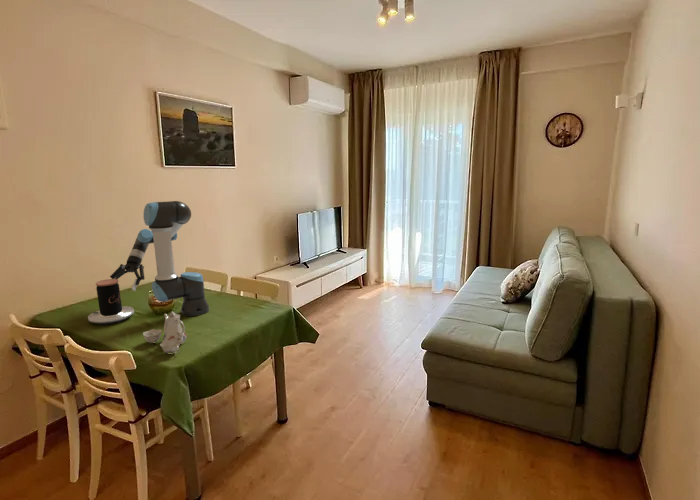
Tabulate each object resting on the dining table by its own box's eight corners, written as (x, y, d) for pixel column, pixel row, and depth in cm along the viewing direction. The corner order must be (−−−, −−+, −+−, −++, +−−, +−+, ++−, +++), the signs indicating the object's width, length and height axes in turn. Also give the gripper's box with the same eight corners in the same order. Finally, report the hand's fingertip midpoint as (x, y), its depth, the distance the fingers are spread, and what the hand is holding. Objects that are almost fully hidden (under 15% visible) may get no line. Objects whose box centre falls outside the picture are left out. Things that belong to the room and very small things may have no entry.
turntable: (142, 308, 226) (142, 306, 226) (116, 323, 205) (116, 320, 205) (107, 307, 229) (107, 305, 228) (78, 322, 207) (77, 319, 207)
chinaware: (137, 347, 187) (129, 316, 182) (169, 331, 200) (163, 302, 195) (171, 363, 172) (164, 329, 167) (203, 345, 185) (197, 313, 180)
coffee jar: (112, 317, 210) (107, 285, 207) (95, 315, 213) (90, 284, 209) (127, 309, 221) (122, 279, 217) (110, 308, 223) (106, 278, 219)
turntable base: (134, 314, 224) (134, 310, 224) (115, 325, 209) (115, 321, 208) (109, 313, 226) (108, 310, 226) (88, 324, 210) (87, 320, 210)
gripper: (157, 261, 238) (145, 292, 227) (119, 261, 241) (106, 292, 229) (151, 255, 232) (138, 286, 221) (112, 254, 235) (98, 286, 223)
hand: (122, 289), depth 225 cm, fingers open, 13 cm apart
